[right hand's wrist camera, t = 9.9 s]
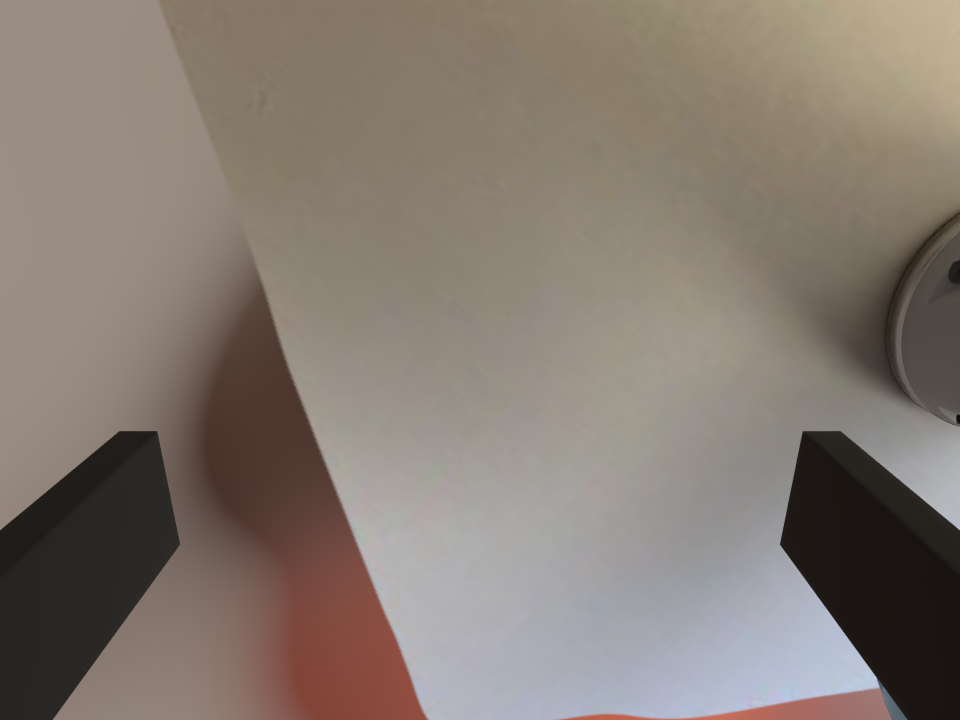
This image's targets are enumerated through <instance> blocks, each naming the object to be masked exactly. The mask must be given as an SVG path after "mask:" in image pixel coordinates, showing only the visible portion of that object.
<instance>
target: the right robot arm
mask: <svg viewBox="0 0 960 720" xmlns="http://www.w3.org/2000/svg"><path fill="white" fill-rule="evenodd" d="M886 344H887V353H888V359H889V362H890V366H891V369H892V371H893V373H894V376H895V378H896V380H897V381H898V383H899V385H900V386H901V388H902V389H903V390H904V391H905V393H906V394H907V395H908V396H909V397H910V398H911V399H912V400H913V401H914V402H916V403H917V404H918V405H920V406H921V407H923V408H924V409H926V410H927V411H929V412H931V413H932V414H934V415H935V416H937V417H939V418H940V419H942V420H944V421H946V422H948V423H950V424H953V425H956V426H958V427H960V214H959V215H958V216H956V217H955V218H954V219H952V220H951V221H950V222H949V223H947V224H946V225H945V226H944V227H943V228H942V229H940V230H939V231H938V232H937V233H936V234H935V235H934V236H933V237H932V238H931V239H930V240H929V241H928V242H927V243H926V244H925V246H924V247H923V248H922V249H921V251H920V252H919V253H918V254H917V256H916V257H915V258H914V260H913V261H912V263H911V264H910V266H909V267H908V269H907V271H906V272H905V274H904V276H903V277H902V279H901V281H900V284H899V286H898V288H897V290H896V293H895V295H894V298H893V301H892V304H891V308H890V311H889V316H888V322H887V331H886ZM179 545H180V542H179V537H178V532H177V527H176V522H175V517H174V513H173V507H172V503H171V498H170V493H169V488H168V483H167V478H166V473H165V468H164V463H163V458H162V453H161V448H160V443H159V438H158V433H157V431H119V432H118V433H117V434H116V435H114V436H113V437H112V438H111V439H110V440H108V441H107V442H106V443H105V444H104V445H102V446H101V447H100V448H99V449H98V450H96V451H95V452H94V453H93V454H92V455H90V456H89V457H88V458H87V459H86V460H84V461H83V462H82V463H81V464H80V465H78V466H77V467H76V468H75V469H74V470H72V471H71V472H70V473H69V474H67V475H66V476H65V477H64V478H63V479H61V480H60V481H59V482H58V483H57V484H55V485H54V486H53V487H52V488H51V489H49V490H48V491H47V492H46V493H45V494H43V495H42V496H41V497H40V498H39V499H37V500H36V501H35V502H34V503H33V504H31V505H30V506H29V507H28V508H27V509H25V510H24V511H23V512H22V513H21V514H19V515H18V516H17V517H16V518H15V519H13V520H12V521H11V522H10V523H8V524H7V525H6V526H5V527H4V528H2V529H1V530H0V720H53V718H54V717H55V716H56V714H57V713H58V712H59V710H60V709H61V707H62V706H63V705H64V703H65V702H66V700H67V699H68V698H69V696H70V695H71V694H72V692H73V691H74V690H75V688H76V687H77V685H78V684H79V683H80V681H81V680H82V678H83V677H84V676H85V674H86V673H87V672H88V670H89V669H90V668H91V666H92V665H93V663H94V662H95V661H96V659H97V658H98V657H99V655H100V654H101V652H102V651H103V650H104V648H105V647H106V646H107V644H108V643H109V641H110V640H111V639H112V637H113V636H114V634H115V633H116V632H117V630H118V629H119V628H120V626H121V625H122V624H123V622H124V621H125V619H126V618H127V617H128V615H129V614H130V613H131V611H132V610H133V608H134V607H135V606H136V604H137V603H138V602H139V600H140V599H141V597H142V596H143V595H144V593H145V592H146V591H147V589H148V588H149V586H150V585H151V584H152V582H153V581H154V580H155V578H156V577H157V575H158V574H159V573H160V571H161V570H162V569H163V567H164V566H165V564H166V563H167V562H168V560H169V559H170V558H171V556H172V555H173V553H174V552H175V551H176V549H177V548H178V547H179ZM780 545H781V547H782V548H783V549H784V551H785V552H786V553H787V555H788V556H789V558H790V559H791V560H792V562H793V563H794V564H795V566H796V567H797V569H798V570H799V571H800V573H801V574H802V575H803V577H804V578H805V580H806V581H807V582H808V584H809V585H810V586H811V588H812V589H813V591H814V592H815V593H816V595H817V596H818V597H819V599H820V600H821V602H822V603H823V604H824V606H825V607H826V608H827V610H828V611H829V613H830V614H831V615H832V617H833V618H834V619H835V621H836V622H837V624H838V625H839V626H840V628H841V629H842V630H843V632H844V633H845V635H846V636H847V637H848V639H849V640H850V641H851V643H852V644H853V646H854V647H855V648H856V650H857V651H858V652H859V654H860V655H861V657H862V658H863V659H864V661H865V662H866V663H867V665H868V666H869V668H870V669H871V670H872V672H873V673H874V674H875V676H876V677H877V681H878V684H879V686H880V689H881V691H882V694H883V698H884V703H885V705H886V707H887V709H888V712H889V714H890V716H891V718H892V720H960V530H959V529H958V528H956V527H955V526H954V525H953V524H952V523H950V522H949V521H948V520H947V519H946V518H944V517H943V516H942V515H941V514H939V513H938V512H937V511H936V510H935V509H933V508H932V507H931V506H930V505H929V504H927V503H926V502H925V501H924V500H923V499H921V498H920V497H919V496H918V495H917V494H915V493H914V492H913V491H912V490H911V489H909V488H908V487H907V486H906V485H905V484H903V483H902V482H901V481H900V480H899V479H897V478H896V477H895V476H894V475H893V474H891V473H890V472H889V471H888V470H886V469H885V468H884V467H883V466H882V465H880V464H879V463H878V462H877V461H876V460H874V459H873V458H872V457H871V456H870V455H868V454H867V453H866V452H865V451H864V450H862V449H861V448H860V447H859V446H858V445H856V444H855V443H854V442H853V441H852V440H850V439H849V438H848V437H847V436H846V435H844V434H843V433H842V432H841V431H803V433H802V438H801V443H800V448H799V453H798V458H797V463H796V468H795V473H794V478H793V483H792V488H791V493H790V498H789V502H788V507H787V512H786V517H785V522H784V527H783V532H782V537H781V542H780Z"/></svg>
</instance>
